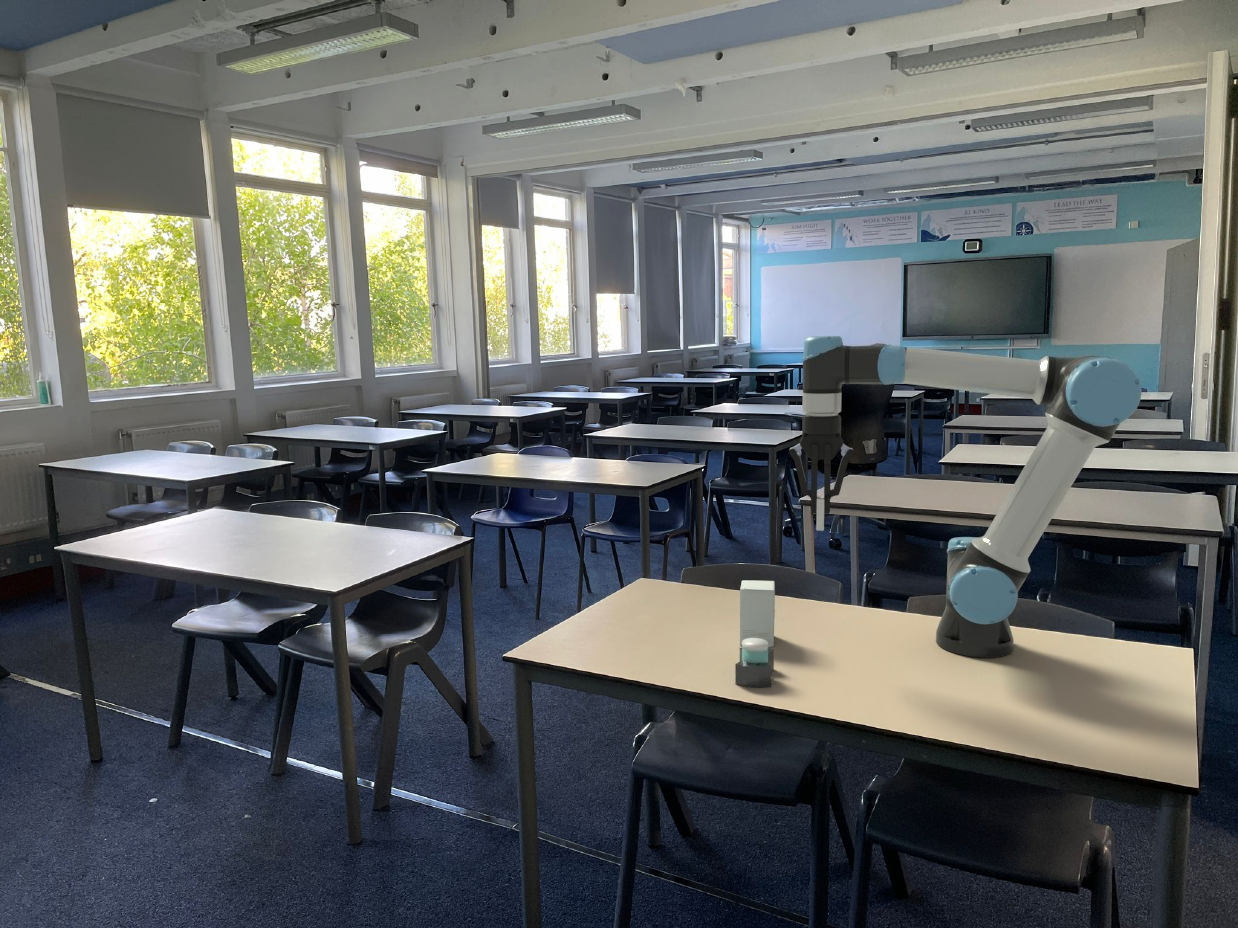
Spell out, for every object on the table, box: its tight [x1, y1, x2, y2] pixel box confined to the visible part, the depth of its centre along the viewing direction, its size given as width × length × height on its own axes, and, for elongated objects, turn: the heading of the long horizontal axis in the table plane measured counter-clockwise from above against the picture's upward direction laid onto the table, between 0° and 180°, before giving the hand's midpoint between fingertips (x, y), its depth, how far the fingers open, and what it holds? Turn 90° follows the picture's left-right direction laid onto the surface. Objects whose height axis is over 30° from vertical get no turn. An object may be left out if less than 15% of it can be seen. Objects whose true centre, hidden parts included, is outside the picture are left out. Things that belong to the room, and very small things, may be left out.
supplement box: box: [739, 579, 776, 648], centre depth 187 cm, size 7×7×13 cm
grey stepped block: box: [734, 647, 775, 689], centre depth 168 cm, size 7×11×4 cm, turn 167°
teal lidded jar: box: [741, 638, 769, 663], centre depth 167 cm, size 5×5×7 cm
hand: (820, 528), depth 176 cm, fingers closed
